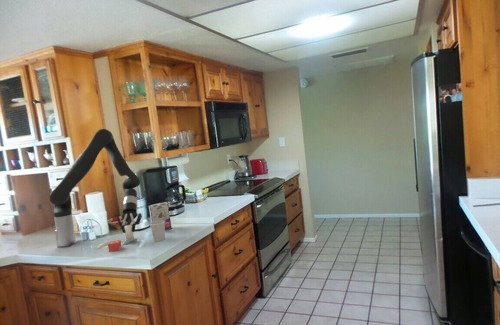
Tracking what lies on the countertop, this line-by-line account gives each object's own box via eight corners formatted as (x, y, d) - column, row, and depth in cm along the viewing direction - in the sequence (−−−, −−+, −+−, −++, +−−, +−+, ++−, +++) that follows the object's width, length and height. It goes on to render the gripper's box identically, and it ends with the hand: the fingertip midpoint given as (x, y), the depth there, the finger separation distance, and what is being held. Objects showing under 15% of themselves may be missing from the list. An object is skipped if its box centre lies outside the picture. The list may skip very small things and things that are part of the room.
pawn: (125, 240, 182) (123, 227, 182) (127, 238, 186) (125, 225, 186) (133, 239, 183) (131, 226, 182) (134, 237, 187) (132, 224, 186)
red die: (109, 254, 171) (107, 244, 171) (111, 250, 176) (110, 241, 175) (119, 252, 172) (118, 242, 171) (121, 249, 177) (120, 239, 176)
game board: (93, 252, 176) (93, 250, 176) (100, 245, 188) (100, 243, 188) (135, 246, 179) (135, 244, 179) (139, 239, 191) (138, 237, 191)
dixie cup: (148, 242, 185) (146, 224, 184) (157, 237, 192) (155, 220, 192) (161, 242, 182) (159, 224, 181) (170, 237, 190) (168, 219, 189)
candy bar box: (169, 227, 212) (166, 201, 211) (171, 228, 208) (168, 202, 207) (151, 231, 207) (148, 205, 206) (153, 233, 203) (149, 206, 202)
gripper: (115, 203, 190) (113, 230, 179) (141, 200, 192) (140, 226, 181) (118, 210, 196) (116, 237, 185) (144, 207, 198) (143, 233, 187)
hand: (128, 231), depth 183 cm, fingers closed on pawn, 4 cm apart
